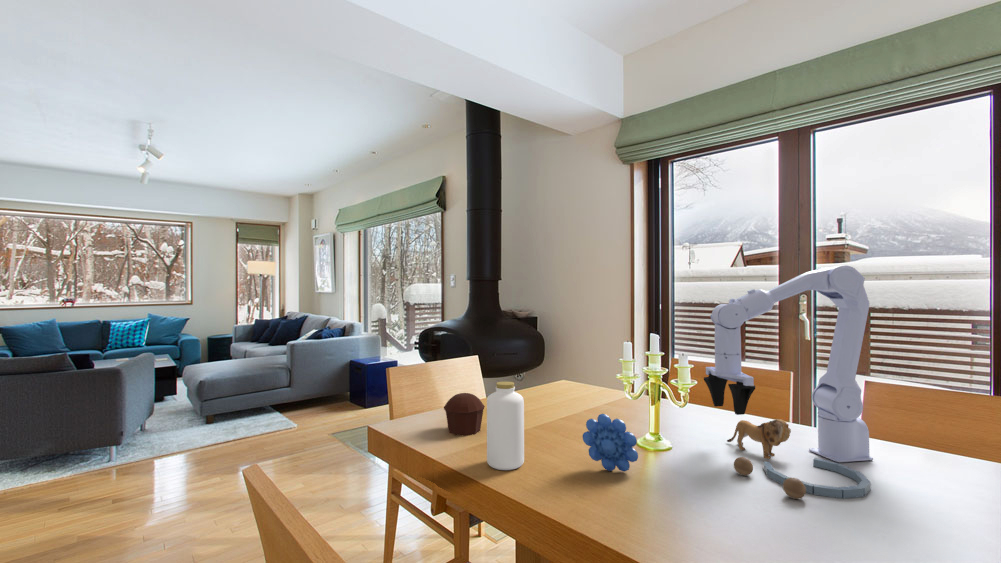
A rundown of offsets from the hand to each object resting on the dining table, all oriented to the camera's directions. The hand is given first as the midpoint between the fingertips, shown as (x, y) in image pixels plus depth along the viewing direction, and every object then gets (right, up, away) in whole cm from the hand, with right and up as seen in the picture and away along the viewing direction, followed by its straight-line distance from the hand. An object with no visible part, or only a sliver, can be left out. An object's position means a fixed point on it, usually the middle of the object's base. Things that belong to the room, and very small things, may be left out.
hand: (728, 410), depth 108 cm
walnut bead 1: (-4, -9, -15) cm, 18 cm away
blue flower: (-32, -10, -13) cm, 36 cm away
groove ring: (+9, -9, -18) cm, 22 cm away
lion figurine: (+6, -10, -1) cm, 12 cm away
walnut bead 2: (-1, -9, -25) cm, 27 cm away
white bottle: (-54, -10, -9) cm, 56 cm away
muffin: (-65, -11, +16) cm, 68 cm away
